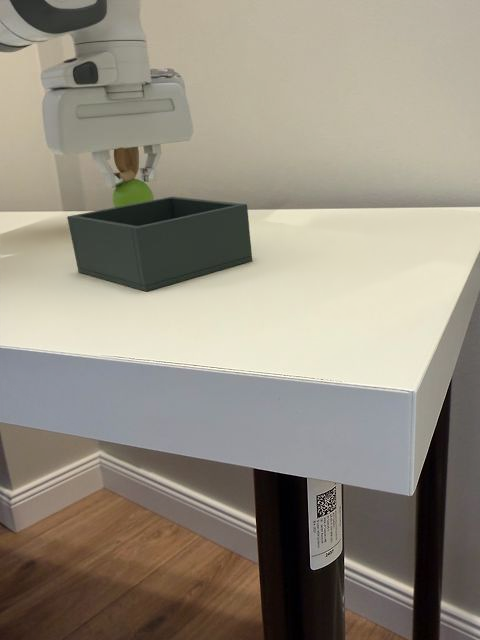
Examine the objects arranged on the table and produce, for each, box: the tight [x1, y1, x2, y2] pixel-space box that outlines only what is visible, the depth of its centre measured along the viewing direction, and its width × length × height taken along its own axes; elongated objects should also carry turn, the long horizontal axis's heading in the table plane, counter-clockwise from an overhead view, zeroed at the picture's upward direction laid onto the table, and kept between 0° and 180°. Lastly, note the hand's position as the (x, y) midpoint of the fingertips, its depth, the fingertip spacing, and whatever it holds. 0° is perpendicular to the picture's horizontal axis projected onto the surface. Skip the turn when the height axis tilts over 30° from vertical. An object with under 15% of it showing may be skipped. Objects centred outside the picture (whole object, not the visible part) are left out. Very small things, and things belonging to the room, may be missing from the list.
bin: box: [66, 196, 253, 292], centre depth 64 cm, size 12×12×6 cm
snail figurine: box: [112, 147, 155, 208], centre depth 87 cm, size 5×6×12 cm
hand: (131, 184), depth 88 cm, fingers closed on snail figurine, 4 cm apart
